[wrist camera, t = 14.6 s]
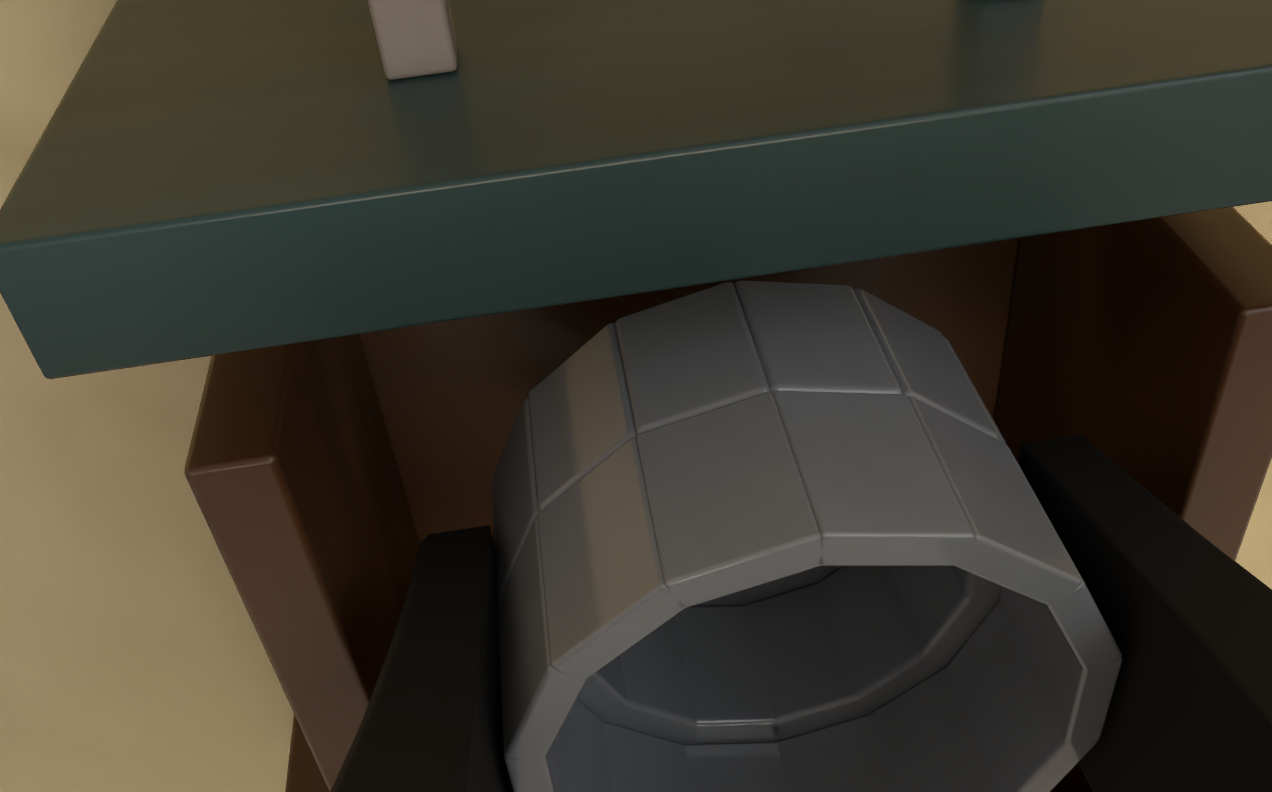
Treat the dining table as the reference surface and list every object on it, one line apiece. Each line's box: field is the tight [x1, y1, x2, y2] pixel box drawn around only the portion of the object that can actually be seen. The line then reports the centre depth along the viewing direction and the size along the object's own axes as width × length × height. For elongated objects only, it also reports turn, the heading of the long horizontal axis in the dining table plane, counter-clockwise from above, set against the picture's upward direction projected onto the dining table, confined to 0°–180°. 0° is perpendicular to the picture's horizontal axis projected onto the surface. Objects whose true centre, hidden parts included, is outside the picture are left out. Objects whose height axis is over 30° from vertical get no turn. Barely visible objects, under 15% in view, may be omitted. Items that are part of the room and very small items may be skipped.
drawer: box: [0, 0, 1272, 792], centre depth 13 cm, size 18×11×6 cm, turn 5°
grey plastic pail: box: [491, 280, 1122, 792], centre depth 12 cm, size 5×5×4 cm
